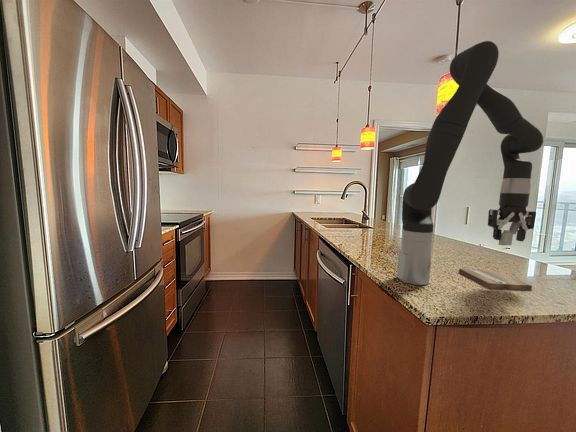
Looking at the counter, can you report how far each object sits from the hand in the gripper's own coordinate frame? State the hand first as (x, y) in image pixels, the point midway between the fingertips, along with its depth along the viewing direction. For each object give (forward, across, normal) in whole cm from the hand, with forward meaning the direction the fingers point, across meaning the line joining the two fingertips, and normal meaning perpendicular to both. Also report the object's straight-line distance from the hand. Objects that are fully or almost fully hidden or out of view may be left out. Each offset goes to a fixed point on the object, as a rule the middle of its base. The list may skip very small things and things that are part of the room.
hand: (508, 240), depth 89 cm
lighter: (+2, 0, 0) cm, 2 cm away
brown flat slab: (+14, -4, 0) cm, 15 cm away
